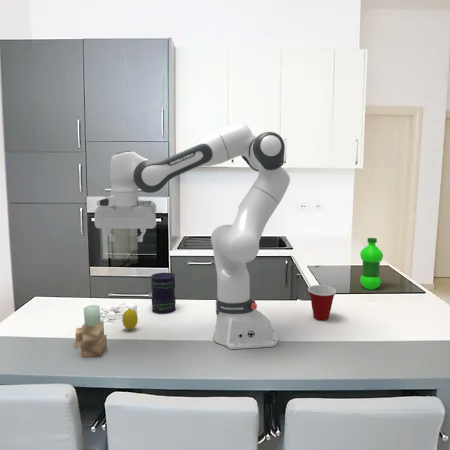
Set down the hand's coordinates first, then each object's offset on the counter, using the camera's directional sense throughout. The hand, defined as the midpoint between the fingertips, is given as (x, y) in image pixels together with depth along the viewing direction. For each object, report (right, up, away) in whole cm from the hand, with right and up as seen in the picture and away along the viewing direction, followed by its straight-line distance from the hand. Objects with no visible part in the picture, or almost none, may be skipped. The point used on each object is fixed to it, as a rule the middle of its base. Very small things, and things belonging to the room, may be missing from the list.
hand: (126, 241), depth 138 cm
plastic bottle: (+105, -26, +66) cm, 127 cm away
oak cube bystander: (-14, -35, 0) cm, 37 cm away
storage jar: (+8, -30, +34) cm, 46 cm away
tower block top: (-9, -30, -8) cm, 32 cm away
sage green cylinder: (-9, -25, -8) cm, 28 cm away
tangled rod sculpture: (-12, -32, +27) cm, 43 cm away
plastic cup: (+71, -31, +24) cm, 81 cm away
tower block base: (-8, -35, -7) cm, 37 cm away
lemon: (-2, -33, +12) cm, 35 cm away
